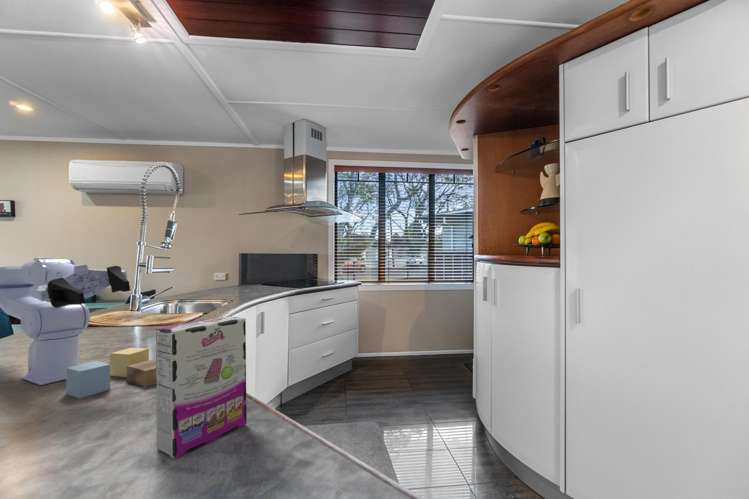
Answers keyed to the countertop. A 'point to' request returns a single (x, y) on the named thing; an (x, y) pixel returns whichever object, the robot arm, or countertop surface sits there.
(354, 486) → the countertop surface
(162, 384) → the candy bar box
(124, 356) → the mustard cube
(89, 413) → the countertop surface
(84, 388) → the blue cube
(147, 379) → the walnut block
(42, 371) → the robot arm
